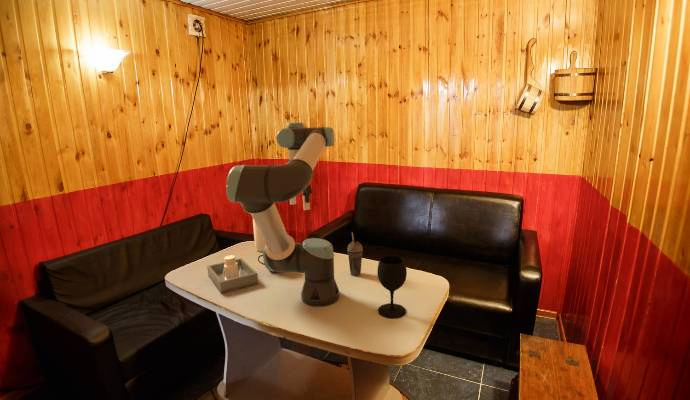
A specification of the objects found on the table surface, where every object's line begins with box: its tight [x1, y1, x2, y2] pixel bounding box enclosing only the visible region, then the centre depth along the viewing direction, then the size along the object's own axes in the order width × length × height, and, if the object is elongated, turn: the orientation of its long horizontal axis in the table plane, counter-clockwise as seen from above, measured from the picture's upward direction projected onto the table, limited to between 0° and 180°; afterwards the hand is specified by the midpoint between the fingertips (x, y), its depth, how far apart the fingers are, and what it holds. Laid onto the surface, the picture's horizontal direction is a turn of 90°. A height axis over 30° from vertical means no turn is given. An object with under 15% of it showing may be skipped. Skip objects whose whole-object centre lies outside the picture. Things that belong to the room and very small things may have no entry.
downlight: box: [223, 254, 241, 280], centre depth 164 cm, size 8×7×10 cm
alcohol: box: [252, 218, 266, 253], centre depth 201 cm, size 9×9×30 cm
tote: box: [206, 257, 259, 295], centre depth 165 cm, size 22×16×5 cm
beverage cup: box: [346, 232, 364, 277], centre depth 166 cm, size 7×7×20 cm
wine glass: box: [376, 255, 408, 319], centre depth 133 cm, size 10×10×20 cm
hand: (299, 207), depth 164 cm, fingers open, 13 cm apart
